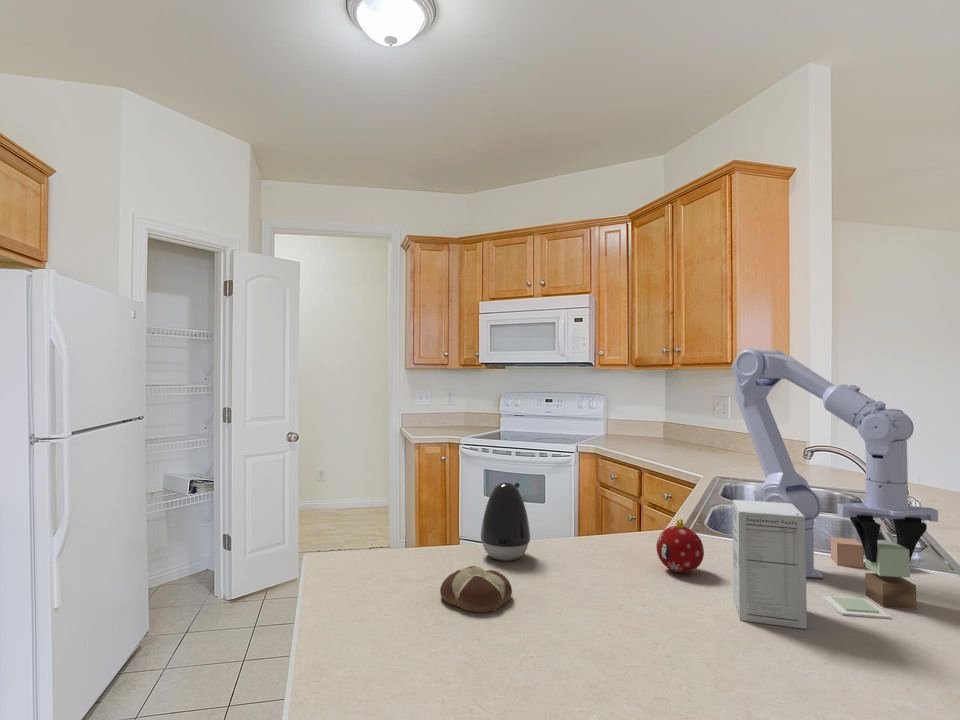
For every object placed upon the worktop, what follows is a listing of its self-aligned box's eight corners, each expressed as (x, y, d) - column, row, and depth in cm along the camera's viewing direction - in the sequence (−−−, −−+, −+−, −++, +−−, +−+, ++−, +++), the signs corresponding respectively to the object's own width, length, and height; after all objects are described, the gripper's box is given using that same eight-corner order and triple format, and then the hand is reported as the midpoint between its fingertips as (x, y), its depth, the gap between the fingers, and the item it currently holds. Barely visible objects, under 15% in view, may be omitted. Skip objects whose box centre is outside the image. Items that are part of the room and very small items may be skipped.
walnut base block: (882, 608, 89) (882, 583, 89) (865, 596, 94) (865, 572, 94) (916, 610, 89) (915, 585, 89) (897, 598, 94) (896, 574, 94)
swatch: (841, 615, 86) (841, 611, 86) (821, 597, 93) (821, 593, 93) (890, 618, 85) (890, 614, 85) (866, 600, 92) (866, 597, 92)
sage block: (879, 575, 90) (879, 548, 90) (865, 566, 95) (864, 540, 95) (910, 577, 90) (909, 549, 90) (894, 568, 94) (893, 541, 94)
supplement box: (795, 606, 89) (794, 502, 90) (809, 630, 80) (808, 516, 81) (731, 598, 92) (731, 498, 93) (737, 620, 84) (737, 510, 84)
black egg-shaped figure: (538, 554, 114) (539, 481, 114) (515, 568, 105) (515, 489, 105) (497, 545, 119) (497, 476, 120) (470, 558, 110) (471, 483, 111)
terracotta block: (837, 565, 110) (837, 543, 110) (830, 558, 114) (830, 537, 114) (863, 568, 108) (863, 545, 108) (856, 561, 112) (855, 539, 113)
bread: (479, 621, 83) (480, 587, 83) (429, 599, 90) (429, 569, 90) (525, 599, 91) (525, 569, 91) (475, 582, 99) (475, 554, 99)
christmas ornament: (714, 575, 103) (714, 522, 103) (680, 582, 99) (680, 527, 99) (679, 561, 110) (679, 512, 111) (646, 567, 107) (647, 516, 107)
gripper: (851, 483, 90) (852, 566, 89) (950, 487, 87) (951, 572, 87) (831, 475, 97) (831, 553, 96) (922, 479, 94) (923, 558, 94)
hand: (887, 561), depth 92 cm, fingers closed on sage block, 4 cm apart
